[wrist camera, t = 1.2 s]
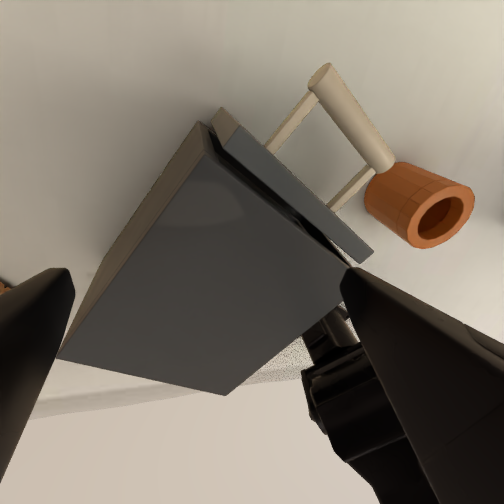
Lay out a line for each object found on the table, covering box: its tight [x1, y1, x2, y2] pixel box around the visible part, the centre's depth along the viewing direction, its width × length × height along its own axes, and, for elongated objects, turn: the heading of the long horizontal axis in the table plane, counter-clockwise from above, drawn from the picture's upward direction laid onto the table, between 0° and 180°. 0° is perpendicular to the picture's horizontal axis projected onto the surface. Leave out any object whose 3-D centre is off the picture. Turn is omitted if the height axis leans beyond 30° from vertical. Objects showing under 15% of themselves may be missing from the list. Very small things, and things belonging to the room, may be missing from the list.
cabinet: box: [56, 120, 352, 396], centre depth 19 cm, size 15×13×10 cm
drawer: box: [211, 63, 395, 264], centre depth 18 cm, size 18×11×8 cm, turn 138°
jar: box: [364, 162, 475, 249], centre depth 22 cm, size 5×5×6 cm
